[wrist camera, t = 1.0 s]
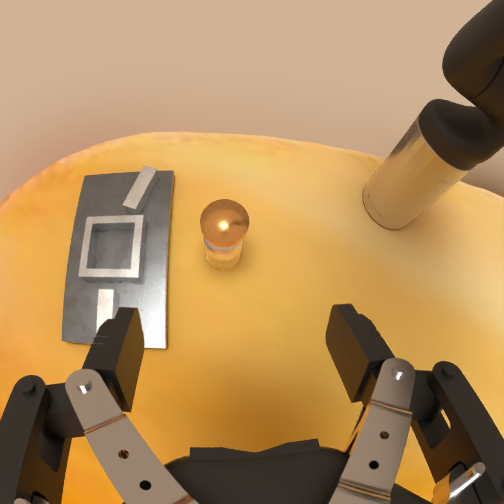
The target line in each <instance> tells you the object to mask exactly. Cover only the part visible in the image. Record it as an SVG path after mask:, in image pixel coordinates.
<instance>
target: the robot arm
mask: <svg viewBox="0 0 504 504" xmlns="http://www.w3.org/2000/svg"><path fill="white" fill-rule="evenodd" d="M442 69H443V73H444V76H445V78H446V80H447V81H448V82H449V83H450V84H451V86H452V87H454V88H455V89H456V90H457V91H458V92H459V93H460V94H461V95H463V96H464V97H465V98H466V99H468V100H469V101H470V102H471V103H473V104H474V105H475V106H476V107H471V106H464V105H460V104H456V103H454V102H450V101H447V100H443V99H435V100H432V101H430V102H429V103H428V104H427V105H426V106H425V107H424V109H423V110H422V111H421V113H420V114H419V115H418V117H417V118H416V120H415V121H414V122H413V124H412V125H411V126H410V128H409V129H408V131H407V132H406V133H405V135H404V136H403V138H402V139H401V140H400V141H399V143H398V144H397V145H396V147H395V148H394V149H393V151H392V152H391V153H390V155H389V156H388V158H387V159H386V160H385V161H384V163H383V164H382V165H381V166H380V168H379V169H378V170H377V172H376V173H375V174H374V175H373V177H372V178H371V179H370V181H369V182H368V183H367V185H366V186H365V188H364V190H363V202H364V205H365V208H366V210H367V212H368V213H369V215H370V216H371V217H372V218H373V219H374V220H375V221H376V222H377V223H378V224H380V225H381V226H383V227H385V228H388V229H393V230H397V229H401V228H403V227H405V226H406V225H407V224H408V223H410V222H411V221H412V220H413V219H415V218H416V217H417V216H418V215H420V214H421V213H422V212H423V211H424V210H426V209H427V208H428V207H429V206H430V205H431V204H433V203H434V202H435V201H436V200H437V199H439V198H440V197H441V196H442V195H443V194H444V193H446V192H447V191H448V190H449V189H450V188H451V187H452V186H454V185H455V184H456V183H457V182H458V181H459V180H460V179H461V178H462V177H463V176H464V175H465V174H467V173H468V172H469V171H470V170H471V169H472V168H473V167H475V166H476V165H477V164H479V163H482V162H484V161H486V160H488V159H489V158H491V157H492V156H493V155H494V154H495V153H496V152H498V151H499V150H500V149H501V148H502V147H504V0H493V1H491V2H490V3H489V4H488V5H487V6H486V7H484V8H483V9H482V10H481V11H480V12H479V13H477V14H476V15H475V16H474V17H473V18H472V19H471V20H470V21H469V22H468V23H466V24H465V25H464V26H463V27H462V28H461V29H460V30H459V32H458V33H457V34H456V35H455V37H454V38H453V39H452V41H451V42H450V44H449V45H448V47H447V49H446V51H445V54H444V57H443V63H442ZM326 345H327V348H328V350H329V352H330V355H331V357H332V359H333V361H334V364H335V366H336V368H337V370H338V373H339V375H340V377H341V379H342V382H343V384H344V386H345V389H346V391H347V393H348V396H349V398H350V400H351V403H354V402H359V401H362V403H363V407H362V409H361V411H360V414H359V416H358V419H357V421H356V424H355V426H354V428H353V431H352V433H351V435H350V438H349V440H348V442H347V444H346V446H345V448H344V450H343V451H340V450H337V449H333V448H329V447H321V446H319V442H318V439H311V440H304V441H297V442H289V443H285V444H282V445H279V446H276V447H273V448H270V449H267V450H264V451H261V452H256V453H254V452H246V451H240V450H234V449H228V448H223V447H215V448H198V447H190V455H189V456H184V457H181V458H178V459H175V460H173V461H171V462H169V463H167V464H165V465H164V466H163V464H162V463H161V462H160V461H159V459H158V458H157V457H156V456H155V454H154V453H153V452H152V450H151V449H150V448H149V446H148V445H147V444H146V442H145V441H144V440H143V438H142V437H141V435H140V434H139V433H138V431H137V430H136V428H135V427H134V425H133V424H132V423H131V421H130V420H129V418H128V417H127V415H126V414H123V412H131V409H132V404H133V399H134V394H135V389H136V384H137V380H138V375H139V371H140V366H141V362H142V358H143V353H144V346H145V342H144V334H143V329H142V324H141V319H140V314H139V310H138V308H137V307H119V309H118V311H117V313H116V316H115V318H114V319H107V320H106V321H105V322H104V323H103V324H102V325H100V327H99V329H98V331H97V334H96V337H95V338H94V341H93V344H92V345H91V348H90V350H89V352H88V355H87V357H86V360H85V362H84V364H83V367H82V369H81V370H77V371H75V372H73V373H72V374H71V375H70V376H69V377H68V378H67V380H66V382H65V383H59V384H51V385H45V383H44V381H43V380H42V379H41V378H40V377H38V376H35V375H28V376H25V377H23V378H21V379H20V380H19V381H18V382H17V383H16V384H15V386H14V388H13V390H12V393H11V395H10V397H9V400H8V402H7V405H6V407H5V410H4V412H3V415H2V418H1V420H0V504H61V500H62V493H63V485H64V479H65V472H66V467H67V461H68V456H69V450H70V445H71V440H72V438H74V437H82V436H86V438H87V440H88V442H89V444H90V446H91V448H92V450H93V451H94V453H95V455H96V457H97V459H98V460H99V462H100V464H101V466H102V467H103V469H104V471H105V472H106V474H107V476H108V477H109V479H110V480H111V482H112V484H113V485H114V487H115V488H116V490H117V491H118V493H119V494H120V496H121V497H122V499H123V500H124V502H123V503H122V504H504V439H503V437H502V435H501V434H500V432H499V430H498V429H497V427H496V425H495V423H494V422H493V420H492V418H491V417H490V415H489V413H488V412H487V410H486V409H485V407H484V405H483V404H482V402H481V401H480V399H479V398H478V396H477V394H476V393H475V391H474V390H473V388H472V387H471V385H470V384H469V382H468V381H467V379H466V378H465V376H464V375H463V373H462V372H461V370H460V369H459V368H458V367H457V366H456V365H454V364H453V363H450V362H447V361H440V362H438V363H436V364H435V365H434V367H433V369H432V371H421V370H415V369H414V367H413V366H412V365H411V364H410V363H409V362H407V361H405V360H403V359H400V358H395V356H394V355H393V353H392V352H391V350H390V349H389V347H388V346H387V344H386V342H385V341H384V339H383V338H382V337H381V335H380V333H379V332H378V330H376V327H375V326H374V324H373V323H372V321H371V320H369V319H368V318H367V317H365V316H364V315H363V314H358V313H357V311H356V310H355V308H354V307H353V305H352V304H336V305H333V307H332V309H331V314H330V318H329V322H328V326H327V331H326ZM442 409H443V410H444V412H445V413H446V415H447V417H448V419H449V421H450V425H451V427H450V429H449V427H448V425H447V423H446V421H445V419H444V417H443V415H442V413H441V411H442ZM122 411H123V412H122ZM410 425H411V427H412V429H413V431H414V434H415V436H416V438H417V440H418V443H419V445H420V447H421V449H422V452H423V454H424V457H425V459H426V461H427V464H428V466H429V468H430V471H431V473H432V476H433V478H434V481H435V483H436V485H435V487H434V490H433V498H432V500H431V502H429V501H427V500H425V499H423V498H421V497H420V496H418V495H416V494H414V493H412V492H410V491H408V490H407V489H405V488H403V487H401V486H400V485H398V484H396V483H394V481H395V478H396V475H397V472H398V469H399V466H400V462H401V459H402V455H403V452H404V448H405V444H406V441H407V437H408V433H409V428H410Z"/></svg>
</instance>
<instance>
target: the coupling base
mask: <svg viewBox="0 0 504 504" xmlns="http://www.w3.org/2000/svg"><path fill="white" fill-rule="evenodd" d="M174 177H175V176H174V171H157V169H155V168H151V167H148V166H144V167H143V169H142V171H141V172H128V173H112V174H99V175H88V176H85V177H84V181H83V185H82V189H81V193H80V198H79V202H78V207H77V212H76V217H75V222H74V227H73V233H72V239H71V245H70V251H69V258H68V266H67V274H66V283H65V293H64V305H63V321H62V341H64V342H71V343H81V344H93V341H94V338H95V337H96V334H97V331H98V329H99V327H100V325H102V324H103V323H104V322H105V321H106V320H107V319H114V318H115V316H116V313H117V311H118V309H119V307H137V308H138V310H139V314H140V319H141V324H142V329H143V334H144V342H145V346H144V348H163V349H167V300H168V264H169V243H170V226H171V212H172V199H173V188H174Z"/></svg>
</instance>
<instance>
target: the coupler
mask: <svg viewBox="0 0 504 504" xmlns="http://www.w3.org/2000/svg"><path fill="white" fill-rule="evenodd" d="M200 224H201V231H202V233H203V235H204V243H205V252H206V259H207V261H208V263H209V264H210V265H211V266H212V267H213V268H214V269H217V270H220V271H226V270H230V269H232V268H233V267H235V266H236V264H237V263H238V261H239V259H240V254H241V250H242V245H243V240H244V237H245V236H246V234H247V231H248V227H249V217H248V214H247V212H246V210H245V209H244V207H243V206H242V205H240V204H239V203H237V202H235V201H232V200H228V199H222V200H217V201H214V202H212V203H210V204H209V205H208V206H207V207H206V208H205V209H204V210H203V212H202V215H201V219H200Z"/></svg>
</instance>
